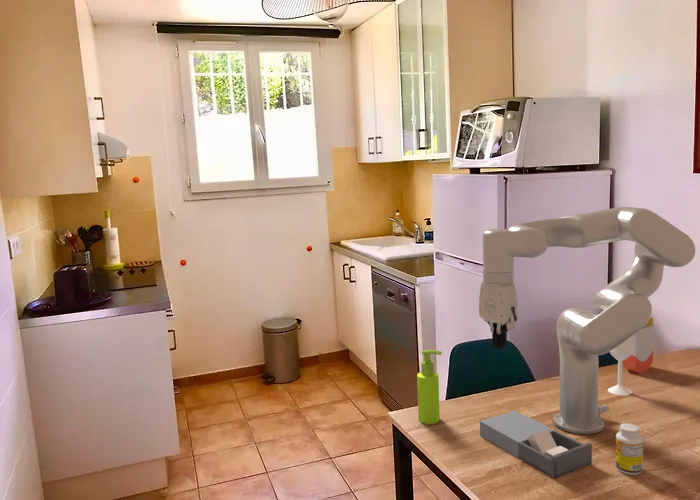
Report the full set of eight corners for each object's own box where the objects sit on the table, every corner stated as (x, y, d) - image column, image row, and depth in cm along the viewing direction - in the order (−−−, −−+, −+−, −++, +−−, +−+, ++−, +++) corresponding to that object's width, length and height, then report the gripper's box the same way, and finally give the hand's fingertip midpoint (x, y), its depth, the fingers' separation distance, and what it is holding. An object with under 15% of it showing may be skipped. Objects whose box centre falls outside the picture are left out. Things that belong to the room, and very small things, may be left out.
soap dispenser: (442, 424, 157) (441, 354, 154) (417, 423, 158) (415, 353, 155) (443, 415, 162) (441, 347, 160) (419, 414, 164) (417, 347, 161)
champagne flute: (607, 394, 172) (609, 316, 168) (607, 386, 178) (608, 310, 175) (632, 396, 169) (634, 317, 166) (631, 388, 175) (632, 312, 172)
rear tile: (542, 432, 140) (548, 429, 138) (552, 452, 138) (558, 449, 136) (526, 437, 138) (532, 434, 136) (537, 457, 135) (542, 454, 134)
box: (554, 445, 142) (554, 426, 142) (591, 464, 133) (591, 443, 132) (518, 458, 137) (518, 438, 136) (553, 478, 127) (553, 457, 127)
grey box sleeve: (514, 424, 155) (514, 410, 154) (554, 445, 142) (554, 430, 142) (480, 435, 149) (479, 421, 149) (518, 458, 137) (518, 442, 136)
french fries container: (621, 371, 189) (622, 319, 187) (639, 364, 195) (640, 313, 193) (635, 375, 185) (636, 321, 183) (653, 367, 191) (654, 315, 189)
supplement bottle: (619, 461, 133) (620, 419, 132) (645, 468, 130) (646, 425, 128) (612, 471, 129) (612, 428, 128) (639, 478, 126) (639, 434, 124)
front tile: (577, 454, 131) (577, 464, 132) (560, 445, 136) (560, 455, 136) (561, 460, 129) (561, 470, 129) (544, 451, 133) (544, 461, 134)
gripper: (467, 275, 150) (469, 342, 153) (507, 283, 137) (508, 357, 140) (490, 271, 154) (491, 337, 156) (531, 279, 141) (531, 351, 143)
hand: (499, 347), depth 148 cm, fingers closed
